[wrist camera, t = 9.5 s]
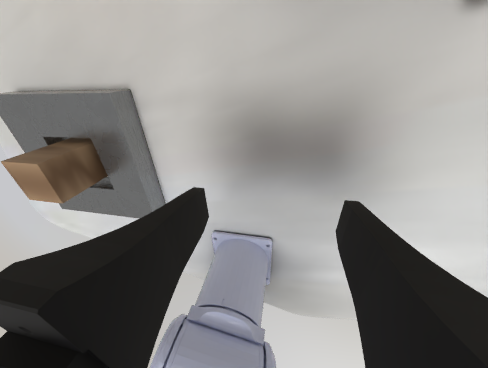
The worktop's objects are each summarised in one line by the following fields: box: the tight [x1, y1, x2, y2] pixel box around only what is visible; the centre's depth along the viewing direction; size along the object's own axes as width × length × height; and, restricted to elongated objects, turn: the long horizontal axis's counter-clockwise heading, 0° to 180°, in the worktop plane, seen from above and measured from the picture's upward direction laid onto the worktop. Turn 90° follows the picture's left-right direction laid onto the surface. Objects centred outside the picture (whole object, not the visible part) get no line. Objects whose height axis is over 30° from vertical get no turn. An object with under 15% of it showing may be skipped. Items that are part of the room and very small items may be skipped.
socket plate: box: [0, 89, 165, 218], centre depth 22 cm, size 14×14×2 cm
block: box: [1, 138, 108, 203], centre depth 20 cm, size 4×4×7 cm
